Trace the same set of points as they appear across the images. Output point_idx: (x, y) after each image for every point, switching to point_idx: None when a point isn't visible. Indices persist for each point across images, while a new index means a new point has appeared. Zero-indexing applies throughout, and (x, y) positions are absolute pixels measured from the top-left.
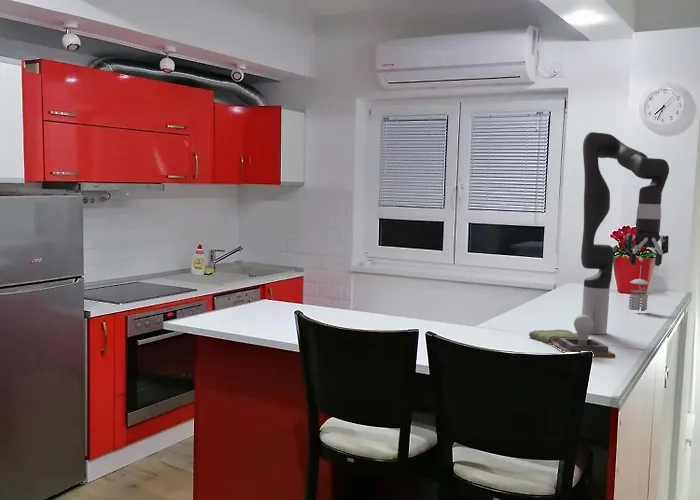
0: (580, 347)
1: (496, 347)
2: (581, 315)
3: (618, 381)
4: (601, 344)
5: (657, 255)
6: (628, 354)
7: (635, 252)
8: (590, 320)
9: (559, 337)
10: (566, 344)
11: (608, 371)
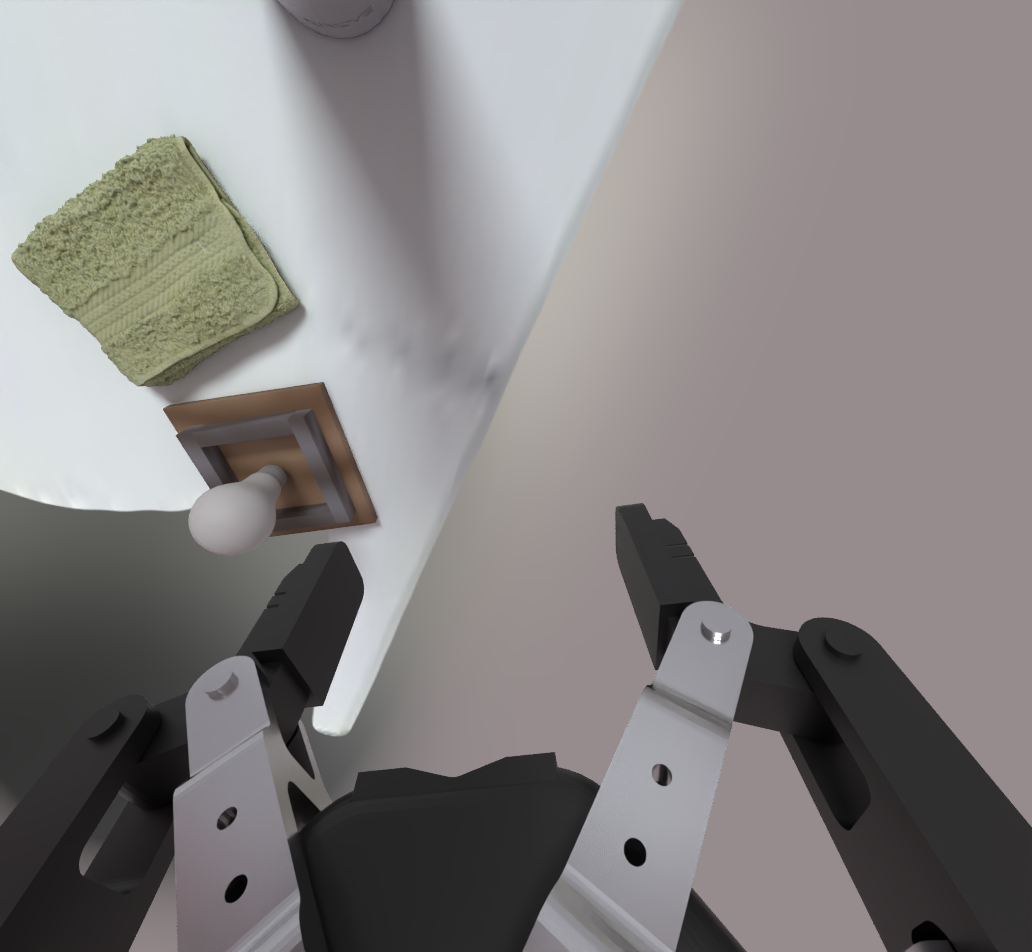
0: None
1: (18, 484)
2: (203, 544)
3: (359, 678)
4: (330, 499)
5: (653, 639)
6: (424, 469)
7: (299, 738)
8: (250, 549)
9: (173, 366)
10: None
11: None
